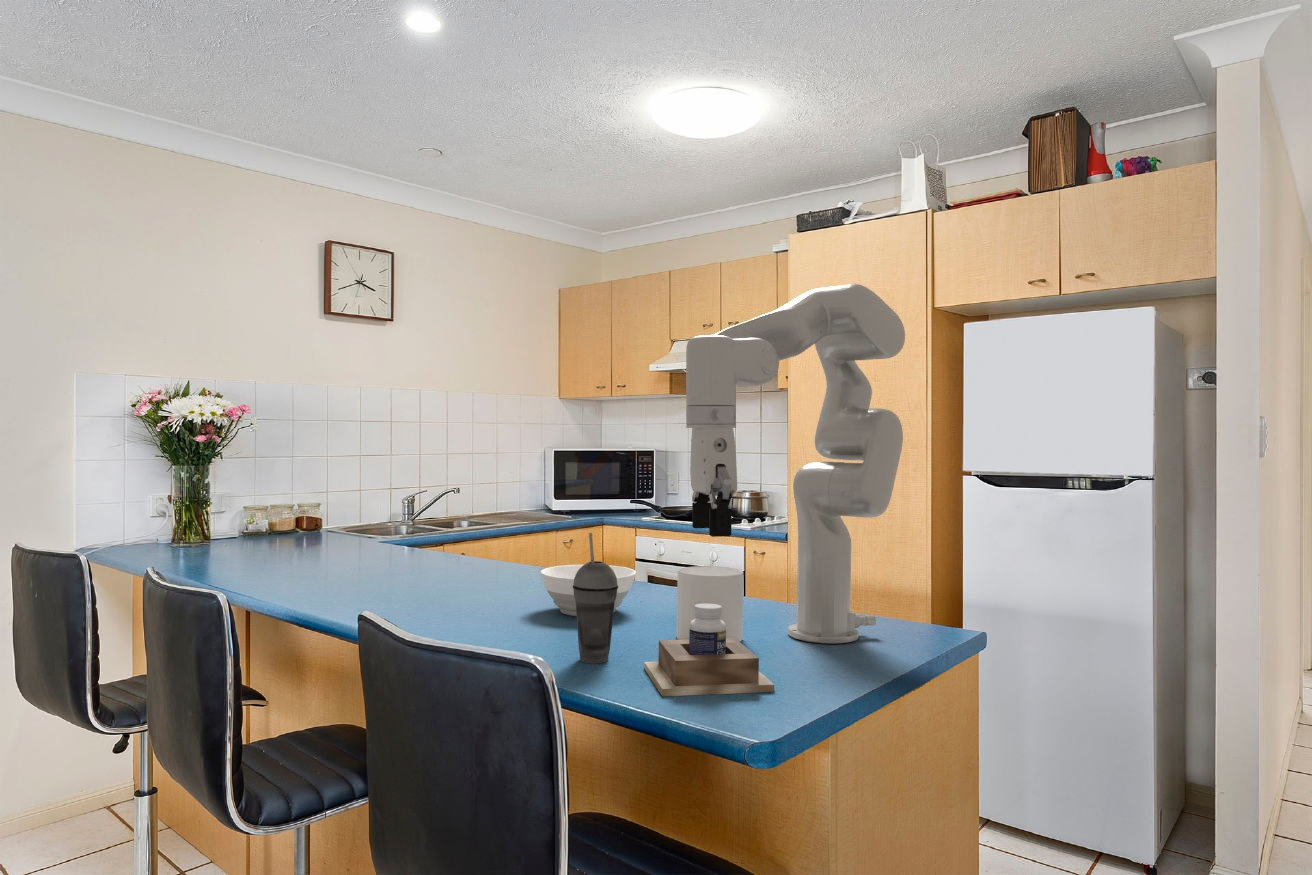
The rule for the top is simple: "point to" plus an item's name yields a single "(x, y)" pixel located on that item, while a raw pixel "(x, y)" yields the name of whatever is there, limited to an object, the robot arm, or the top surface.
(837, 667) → the top surface
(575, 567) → the bowl
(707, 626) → the pill bottle
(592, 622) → the beverage cup
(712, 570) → the white cylinder
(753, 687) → the hole block
